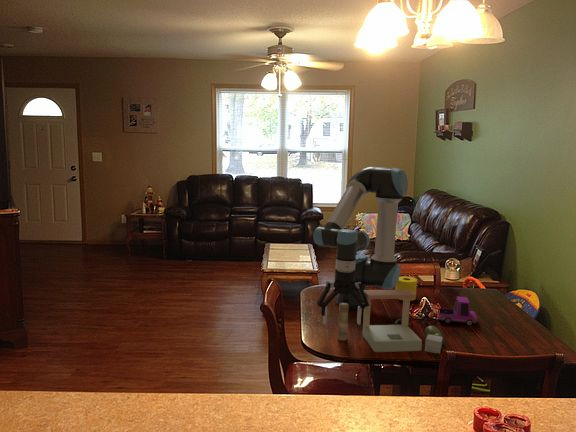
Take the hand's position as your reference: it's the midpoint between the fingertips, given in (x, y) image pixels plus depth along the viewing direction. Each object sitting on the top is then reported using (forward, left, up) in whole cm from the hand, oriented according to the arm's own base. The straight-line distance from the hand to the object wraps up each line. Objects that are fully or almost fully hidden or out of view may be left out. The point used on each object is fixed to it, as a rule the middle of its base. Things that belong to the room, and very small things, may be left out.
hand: (341, 323), depth 201 cm
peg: (0, +1, -6) cm, 6 cm away
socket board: (+5, +19, -6) cm, 20 cm away
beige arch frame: (-1, +19, -2) cm, 19 cm away
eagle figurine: (-10, +29, -7) cm, 31 cm away
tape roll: (-48, +45, -7) cm, 66 cm away
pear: (+4, +37, -7) cm, 38 cm away
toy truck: (-16, +56, -7) cm, 58 cm away
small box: (+12, +33, -7) cm, 35 cm away
